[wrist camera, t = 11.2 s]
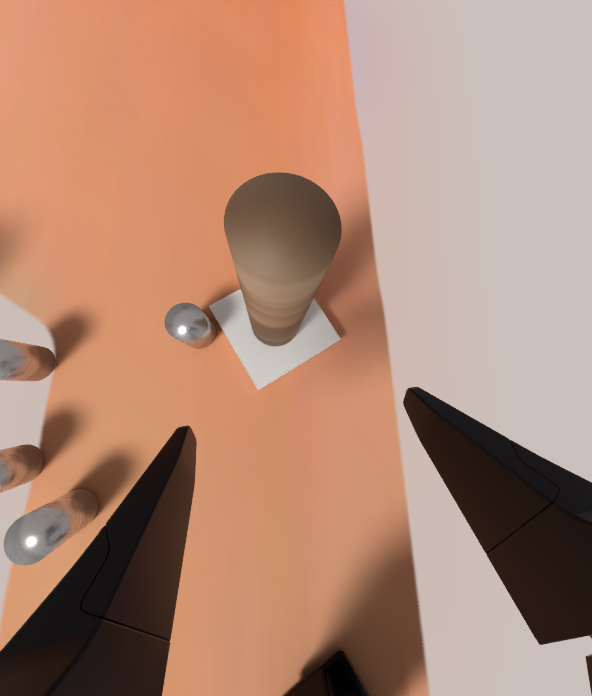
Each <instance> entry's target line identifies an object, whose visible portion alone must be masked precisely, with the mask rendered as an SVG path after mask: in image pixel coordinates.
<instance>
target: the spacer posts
mask: <svg viewBox="0 0 592 696" xmlns="http://www.w3.org/2000/svg"><path fill="white" fill-rule="evenodd" d="M165 327H166V330H167V332H168V333H169V334H170V335H171V336H172V337H174V338H176V339H178V340H179V341H181V342H183V343H185V344H187V345H189V346H191V347H193V348H198V349H200V348H205V347H207V346H209V345H210V344H211V343H212V342H213V341H214V339H215V336H216V329H215V326H214V324H213V323H212V322H211V321H210V320H209V318H208V317H207V316H206V315H205V314H204V313H203V312H202V310H201V309H200V308H199V307H198V306H196V305H194V304H191V303H180V304H177V305H175V306H173V307H172V308H171V309H170V310H169V311H168V313H167V315H166V317H165ZM54 367H55V356H54V354H53V353H52V352H51V351H50V350H49V349H47V348H44V347H40V346H35V345H29V344H24V343H19V342H14V341H8V340H2V339H0V380H13V381H39V380H42V379H44V378H46V377H47V376H48V375H49V374H50V373H51V372H52V371H53V369H54ZM43 464H44V457H43V454H42V452H41V451H40V449H38V448H37V447H35V446H33V445H21V446H17V447H12V448H7V449H3V450H0V493H1V492H4V491H6V490H9V489H12V488H14V487H17V486H19V485H22V484H25V483H27V482H30V481H32V480H33V479H34V478H36V477H37V476H38V475H39V473H40V472H41V470H42V468H43ZM97 511H98V501H97V498H96V496H95V495H94V494H93V493H92V492H91V491H89V490H86V489H76V490H73V491H71V492H69V493H67V494H65V495H63V496H61V497H59V498H57V499H56V500H54V501H52V502H50V503H48V504H46V505H44V506H42V507H40V508H38V509H36V510H34V511H32V512H30V513H28V514H26V515H24V516H22V517H21V518H19V519H18V520H16V521H15V522H14V523H13V524H12V525H11V526H10V528H9V529H8V531H7V533H6V536H5V539H4V551H5V553H6V555H7V557H8V558H9V559H10V560H11V561H12V562H13V563H16V564H18V565H30V564H34V563H36V562H38V561H40V560H41V559H43V558H44V557H46V556H47V555H48V554H50V553H51V552H52V551H54V550H55V549H56V548H58V547H59V546H60V545H62V544H63V543H64V542H66V541H67V540H68V539H70V538H71V537H72V536H74V535H75V534H76V533H78V532H79V531H80V530H82V529H83V528H84V527H86V526H87V525H89V524H90V523H91V522H92V521H93V519H94V518H95V516H96V514H97Z"/></svg>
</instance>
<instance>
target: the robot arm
mask: <svg viewBox="0 0 592 696" xmlns="http://www.w3.org/2000/svg"><path fill="white" fill-rule="evenodd" d="M403 404H404V407H405V410H406V412H407V414H408V416H409V418H410V420H411V423H412V425H413V427H414V429H415V432H416V433H417V435H418V438H419V440H420V441H421V443H422V445H423V447H424V448H425V450H426V452H427V454H428V455H429V457H430V459H431V460H432V462H433V464H434V465H435V467H436V469H437V471H438V472H439V474H440V476H441V477H442V479H443V481H444V483H445V484H446V486H447V488H448V489H449V491H450V493H451V495H452V496H453V498H454V500H455V501H456V503H457V505H458V507H459V508H460V510H461V512H462V513H463V515H464V516H465V519H466V520H467V522H468V524H469V525H470V527H471V529H472V530H473V532H474V534H475V536H476V537H477V539H478V540H479V542H480V544H481V546H482V548H483V549H484V551H485V553H487V556H488V558H489V560H490V562H491V563H492V565H493V566H494V568H495V570H496V572H497V573H498V575H499V577H500V579H501V580H502V582H503V584H504V585H505V587H506V589H507V591H508V592H509V594H510V596H511V597H512V599H513V601H514V603H515V604H516V606H517V608H518V609H519V611H520V613H521V614H522V616H523V618H524V620H525V621H526V623H527V625H528V626H529V628H530V630H531V632H532V633H533V635H534V637H535V638H536V639H537V641H538V643H539V644H540V645H543V644H548V643H552V642H558V641H563V640H568V639H574V638H579V637H583V636H590V637H591V638H592V483H591V482H589V481H587V480H585V479H583V478H581V477H580V476H578V475H575V474H574V473H572V472H569V471H568V470H566V469H564V468H562V467H560V466H558V465H556V464H554V463H552V462H550V461H548V460H546V459H544V458H542V457H540V456H538V455H537V454H535V453H533V452H531V451H529V450H528V449H526V448H524V447H522V446H520V445H519V444H517V443H515V442H513V441H511V440H509V439H508V438H506V437H505V436H503V435H501V434H499V433H498V432H496V431H494V430H492V429H491V428H489V427H487V426H485V425H484V424H482V423H480V422H478V421H477V420H475V419H473V418H471V417H470V416H468V415H466V414H464V413H462V412H461V411H459V410H457V409H456V408H454V407H452V406H450V405H449V404H447V403H445V402H443V401H442V400H440V399H438V398H436V397H435V396H433V395H431V394H429V393H428V392H426V391H424V390H422V389H421V388H419V387H412V388H408V389H407V391H406V394H405V398H404V401H403ZM195 466H196V438H195V435H194V433H193V431H192V429H191V427H190V426H182V427H179V428H177V429H176V431H175V432H174V433H173V435H172V436H171V437H170V439H169V440H168V441H167V443H166V444H165V445H164V447H163V448H162V449H161V451H160V452H159V453H158V455H157V456H156V457H155V459H154V460H153V461H152V463H151V464H150V465H149V467H148V468H147V469H146V471H145V472H144V473H143V475H142V476H141V477H140V479H139V480H138V481H137V483H136V484H135V485H134V487H133V488H132V489H131V491H130V492H129V493H128V495H127V496H126V497H125V499H124V500H123V501H122V503H121V504H120V505H119V507H118V508H117V509H116V511H115V512H114V513H113V515H112V516H111V517H110V519H109V520H108V521H107V523H106V526H104V527H103V528H102V529H101V531H100V532H99V533H98V535H97V536H96V537H95V539H94V540H93V541H92V542H91V544H90V545H89V546H88V548H87V549H86V550H85V552H84V553H83V554H82V555H81V557H80V558H79V559H78V560H77V562H76V563H75V564H74V565H73V567H72V568H71V569H70V570H69V571H68V573H67V574H66V575H65V576H64V577H63V579H62V580H61V581H60V582H59V583H58V585H57V586H56V587H55V588H54V589H53V590H52V592H51V593H50V594H49V595H48V596H47V598H46V599H45V600H44V601H43V602H42V603H41V605H40V606H39V607H38V608H37V609H36V610H35V612H34V613H33V614H32V615H31V616H30V617H29V619H28V620H27V621H26V622H25V623H24V625H23V626H22V627H21V628H20V629H19V630H18V632H17V633H16V634H15V635H14V636H13V637H12V639H11V640H10V641H9V642H8V643H7V644H6V645H5V647H4V648H3V649H2V650H1V651H0V696H162V691H163V685H164V678H165V672H166V666H167V659H168V653H169V646H170V639H171V633H172V626H173V620H174V614H175V607H176V601H177V594H178V588H179V581H180V575H181V569H182V562H183V556H184V549H185V543H186V537H187V530H188V524H189V517H190V511H191V505H192V498H193V492H194V484H195ZM340 660H343V661H342V662H340ZM586 662H587V668H588V675H589V681H590V687H591V693H592V655H589V656H586ZM289 696H370V695H369V694H368V692H367V690H366V688H365V687H364V685H363V683H362V681H361V680H360V678H359V676H358V674H357V673H356V671H355V669H354V667H353V665H352V664H351V662H350V660H349V658H348V657H347V655H346V653H345V652H344V651H339V652H337V653H336V654H335V655H334V656H333V657H331V658H330V659H329V660H328V661H327V662H326V663H325V664H324V665H322V666H321V667H320V668H319V669H318V670H317V671H316V672H315V673H313V674H312V675H311V676H310V677H309V678H308V679H307V680H306V681H304V682H303V683H302V684H301V685H300V686H299V687H298V688H297V689H295V690H294V691H293V692H292V693H291V694H290V695H289Z"/></svg>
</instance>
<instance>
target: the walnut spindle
mask: <svg viewBox="0 0 592 696" xmlns="http://www.w3.org/2000/svg"><path fill="white" fill-rule="evenodd" d="M224 228H225V233H226V237H227V241H228V244H229V248H230V252H231V255H232V259H233V262H234V266H235V269H236V273H237V277H238V280H239V284H240V287H241V291H242V295H243V298H244V302H245V305H246V309H247V312H248V316H249V320H250V323H251V327H252V330H253V333H254V335H255V336H256V338H257V339H258V340H259V341H261V342H262V343H264V344H266V345H268V346H282V345H285V344H287V343H289V342H290V341H291V340H292V339H293V338H294V337H295V335H296V333H297V331H298V329H299V327H300V325H301V323H302V321H303V319H304V317H305V315H306V313H307V311H308V309H309V307H310V304H311V302H312V300H313V298H314V296H315V294H316V292H317V290H318V288H319V286H320V284H321V282H322V280H323V277H324V275H325V273H326V271H327V269H328V267H329V265H330V263H331V261H332V259H333V257H334V255H335V253H336V251H337V248H338V246H339V243H340V239H341V230H342V229H341V220H340V216H339V213H338V210H337V208H336V206H335V204H334V202H333V201H332V199H331V198H330V197H329V195H328V194H327V193H326V192H325V191H324V190H323V189H322V188H321V187H319V186H318V185H317V184H315V183H314V182H312V181H310V180H308V179H306V178H304V177H301V176H298V175H295V174H290V173H268V174H263V175H260V176H257V177H254V178H252V179H250V180H249V181H247V182H245V183H244V184H243V185H241V186H240V187H239V188H238V189H237V190H236V191H235V192H234V194H233V195H232V197H231V198H230V200H229V202H228V204H227V207H226V210H225V215H224Z"/></svg>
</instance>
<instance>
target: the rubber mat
mask: <svg viewBox="0 0 592 696" xmlns="http://www.w3.org/2000/svg"><path fill="white" fill-rule="evenodd" d="M209 308H210V310H211V311H212V313H213V315H214V316H215V318H216V320H217V321H218V323H219V325H220V326H221V328H222V330H223V331H224V333H225V335H226V336H227V338H228V340H229V342H230V343H231V345H232V347H233V348H234V350H235V352H236V353H237V355H238V357H239V358H240V360H241V362H242V363H243V365H244V367H245V368H246V370H247V372H248V373H249V375H250V377H251V378H252V380H253V382H254V384H255V385H256V387H257V389H258V390H260V389H262V388H263V387H265V386H266V385H268V384H270V383H271V382H273V381H275V380H276V379H278V378H279V377H281V376H283V375H284V374H286V373H288V372H289V371H291V370H292V369H294V368H296V367H297V366H299V365H300V364H302V363H304V362H305V361H307V360H309V359H310V358H312V357H313V356H315V355H317V354H318V353H320V352H322V351H323V350H325V349H326V348H328V347H330V346H331V345H333V344H335V343H336V342H338V341H339V340H341V339H340V337H339V336H338V334H337V333H336V331H335V329H334V328H333V326H332V325H331V323H330V322H329V320H328V319H327V317H326V315H325V314H324V312H323V311H322V309H321V308H320V306H319V305H318V303H317V301H316V300H315V298H313V300H312V302H311V304H310V307H309V309H308V311H307V313H306V315H305V317H304V319H303V321H302V323H301V325H300V327H299V329H298V331H297V333H296V335H295V337H294V338H293V339H292V340H291V341H290V342H289V343H287V344H285V345H282V346H268V345H266V344H264V343H262V342H261V341H259V340H258V339H257V338H256V336H255V335H254V333H253V330H252V327H251V323H250V320H249V316H248V312H247V309H246V305H245V302H244V298H243V295H242V291H241V289H239V290H237V291H236V292H234V293H232V294H230V295H228V296H226V297H224V298H222V299H220V300H218V301H216V302H215V303H213V304H211V305H209Z"/></svg>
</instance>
